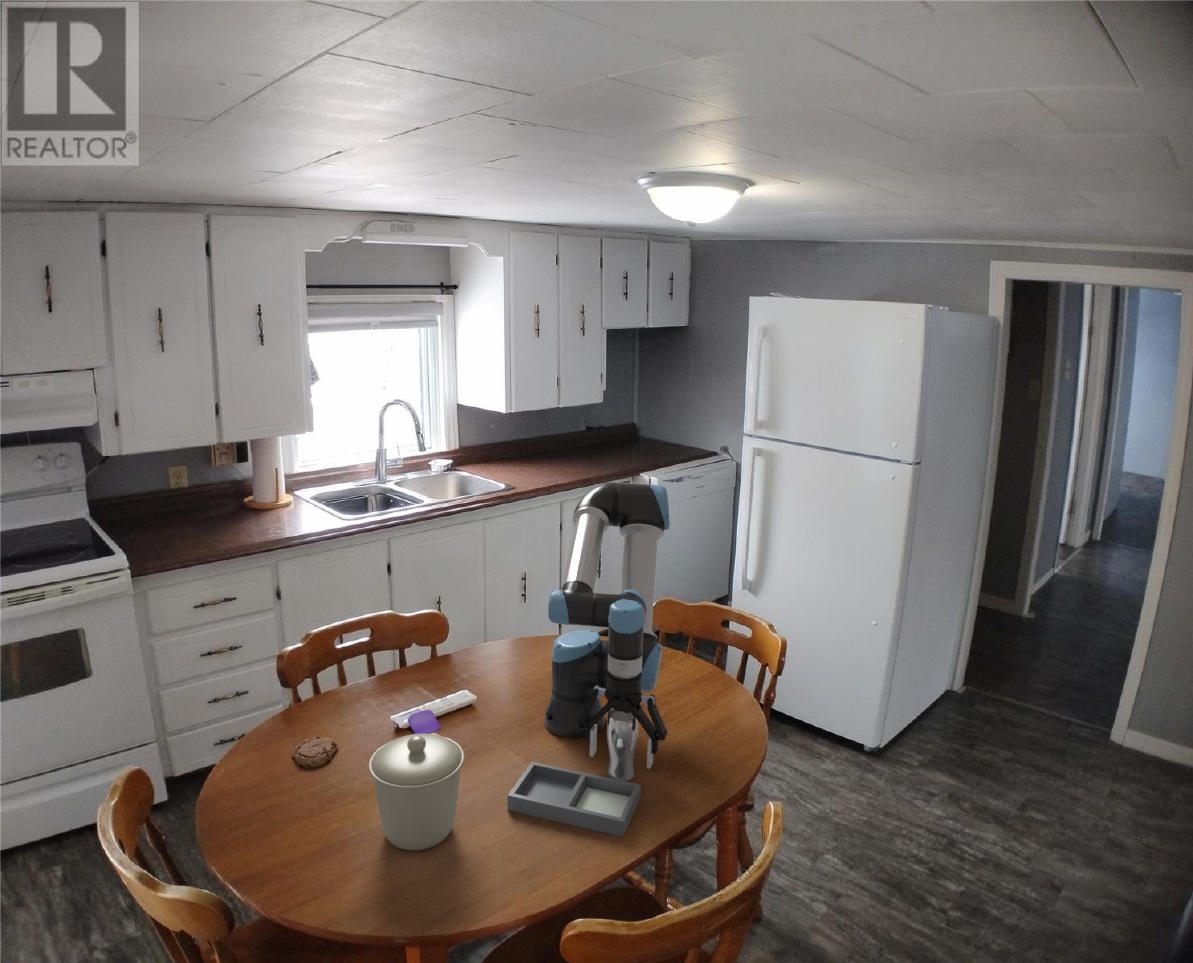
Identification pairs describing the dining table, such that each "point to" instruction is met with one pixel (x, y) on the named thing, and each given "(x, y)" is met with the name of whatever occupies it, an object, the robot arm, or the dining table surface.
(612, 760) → the beer glass
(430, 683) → the dining table surface
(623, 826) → the grey divided tray
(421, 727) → the spatula
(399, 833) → the canister
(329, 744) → the cookie
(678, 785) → the dining table surface
